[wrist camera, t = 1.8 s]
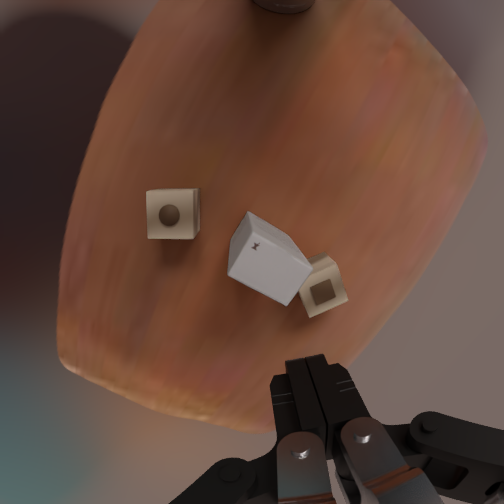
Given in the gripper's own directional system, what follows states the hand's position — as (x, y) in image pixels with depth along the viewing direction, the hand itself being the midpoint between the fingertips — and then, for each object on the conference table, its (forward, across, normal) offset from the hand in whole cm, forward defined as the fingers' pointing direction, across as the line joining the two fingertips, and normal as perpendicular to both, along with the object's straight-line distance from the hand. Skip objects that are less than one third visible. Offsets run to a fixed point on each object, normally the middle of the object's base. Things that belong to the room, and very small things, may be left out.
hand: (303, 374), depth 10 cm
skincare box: (+25, 0, 0) cm, 25 cm away
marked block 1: (+25, +9, -5) cm, 27 cm away
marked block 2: (+25, -6, +6) cm, 26 cm away
